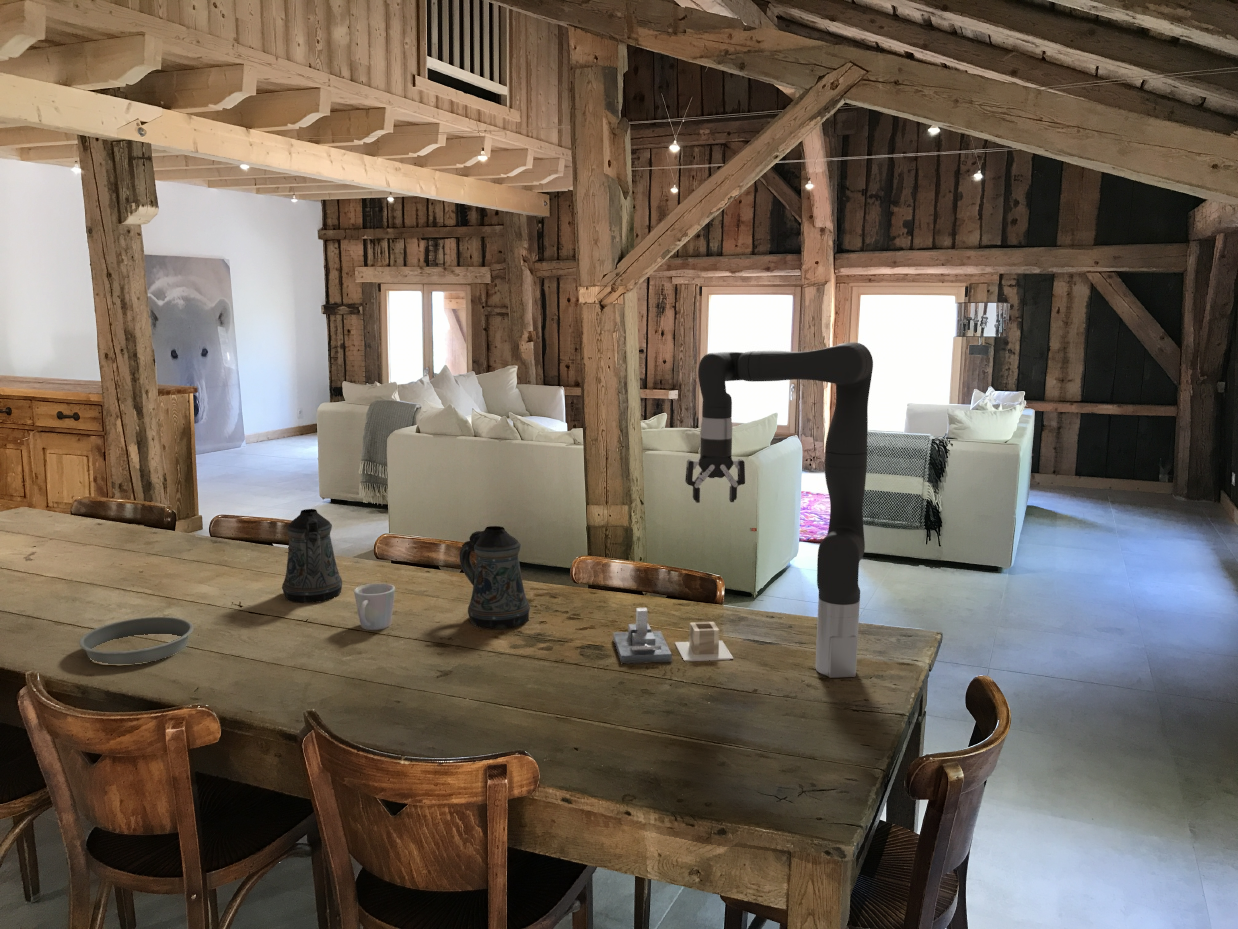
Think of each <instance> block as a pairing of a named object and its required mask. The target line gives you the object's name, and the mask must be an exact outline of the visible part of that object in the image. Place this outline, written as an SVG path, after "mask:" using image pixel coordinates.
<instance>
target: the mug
mask: <svg viewBox="0 0 1238 929" xmlns="http://www.w3.org/2000/svg"><path fill="white" fill-rule="evenodd" d="M353 594H354V598H355V604H356V608H357V613H358V618H359V619H358V620H359V622H360V623H359V624H360V627H361V628H362V629H364V630H367V631H379V630H380V631H381V630H383V629H387V628H389V627H390V626H391V624H392V620H393V619H392V618H393V611H394V610H393V609H394V602H395V594H396V587H395V585H393V584H390V583H389V584H388V583H381V582H379V583H377V582H375V583H367V584H362V585H359V586H357V587H356V588H354V590H353Z"/></svg>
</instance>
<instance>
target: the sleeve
mask: <svg viewBox="0 0 1238 929" xmlns="http://www.w3.org/2000/svg"><path fill="white" fill-rule="evenodd" d="M688 640H689V641H688V642H689V646H690V648H691V650H692V652H693V654H694V655H702V654H719V641H720V628H718V626H717V625H716V623H715V621H702V622H701V621H699V622H689V639H688Z"/></svg>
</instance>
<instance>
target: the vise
mask: <svg viewBox="0 0 1238 929" xmlns="http://www.w3.org/2000/svg"><path fill="white" fill-rule="evenodd" d="M635 610H636V612H635V615H636V616H635V619H636V620H635V623H628V627H627V628H628V629H627V630H628V631H619V632H612V633H613V634H612V638H613V639H612V640H614V641H613V643H615V644H614V646H616V647H615V649H617V650H616V653H617V652H618V653H617V656H618V659H619V658H620V659H619V662H620V664H621V663H633V664H645V663H644V662H649V663H648V664H652V663H651V662H659V663H672V656H673V655H672V652H671V650H670V648H669V646H668V644H667V642H666V640H665V638H664V636H663V633H662V631H661V630H652V628H651V626H650V624H649V622H648V619H649V618H648V615H649V614H648V609H647V607H636V609H635Z"/></svg>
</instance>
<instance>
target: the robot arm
mask: <svg viewBox="0 0 1238 929" xmlns="http://www.w3.org/2000/svg"><path fill="white" fill-rule="evenodd" d="M873 369H874V359H873V356H872V353H871V351H870V350H869V349H868V347H867V346H865V345H864V344H862V343H860V342H855V341H853V342H843V343H839V344H836V345H834V346H828V347H825V348H824V347H823V348H820V349H815V350H809V351H786V350H785V351H784V350H752V351H745V352H740V351H738V352H737V351H720V352H710V353H707V354H705V355H703V357H702V358H701V359H700V361H699V364H698V369H697V373H698V374H697V377H698V383H699V384H698V385H699V388H700V393H701V396H702V407H701V408H702V409H701V410H702V411H701V424H700V431H699V434H700V443H699V444H700V446H699V449H700V454H699V458H698V460H692V459H690V458H689V459H687V461H686V468H685V469H686V470H685V482H684V483H685V484H687V486H690V487H692V499H693V501H695V503H696V504H699V503H700V502H701V500H700V499H701V488H700V486H701V485H702V484H703V482H705V480H706V479H707V478H709V479H716V478H718V479H723V478H725V479H726V480H727V481H728V483H729V484H730V486H729V498H728V499H729V502H730V503H735V501H736V500H737V498H738V496H737V495H738V488H739V486H741V485H742V486H743V485H745V484H746V471H745V470H746V469H745V468H746V464H745V461H744V460H743V459H741V458H738V459H736V460H735V459H733V458H732V454H733V453H732V450H733V449H732V448H733V447H732V446H733V422H732V415H733V414H732V412H733V402H732V401H733V400H732V396H731V395H730V394H729V393H728V392H727V386H726V382H734V381H744V382H780V381H789V380H790V381H791V380H792V381H793V380H807V381H817V382H823V383H828V384H829V383H830V384H835V405H834V407H835V408H834V411H833V414H832V418H831V421H830V424H829V428H828V430H827V435H826V441H825V447H824V451H825V452H824V477H825V483H826V486H827V487H826V488H827V492H828V496H829V505H830V507H829V508H830V513H829V521H828V522H829V523H828V529H827V530H828V531H827V534H826V536H825V537H824V538H823V539H822V540H821V542H820V543H819V545H818V550H817V560H816V562H817V567H816V585H817V586H816V587H817V589H818V602H817V622H816V624H817V625H816V626H817V627H816V644H815V670H816V672H817V673H820V674H821V675H823V676H827V677H828V678H830V679H834V678H854V677H856V675H857V660H858V659H857V658H858V641H859V640H858V639H859V620H860V619H859V618H860V605H861V604H860V602H861V601H860V600H861V589H860V587H859V586H860V585H859V572H860V571H859V569H860V568H859V567H860V561H861V560H862V559H863V557H864V554H865V549H866V546H865V545H866V544H865V543H866V542H865V530H864V515H863V514H864V512H863V511H864V510H863V508H864V507H863V506H864V499H865V490H866V478H867V467H868V466H867V465H868V433H869V432H868V426H869V425H868V423H869V422H868V421H869V420H868V419H869V418H868V417H869V416H868V406H869V397H870V396H869V395H870V390H871V383H872V374H873V371H874V370H873ZM697 466H698V467H699V468H700V469H701V470H700V471H699V473H698V474H697V476H696V477H695V479H694V478H693V477H694V470H696V469H697ZM733 466H734V468H735V469H737V479H735V478H734V477H733V474H732V473H731V472H730V470H731V469H732V468H733ZM693 479H694V480H693Z"/></svg>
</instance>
